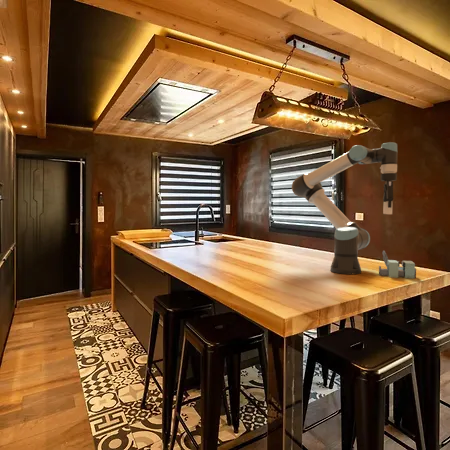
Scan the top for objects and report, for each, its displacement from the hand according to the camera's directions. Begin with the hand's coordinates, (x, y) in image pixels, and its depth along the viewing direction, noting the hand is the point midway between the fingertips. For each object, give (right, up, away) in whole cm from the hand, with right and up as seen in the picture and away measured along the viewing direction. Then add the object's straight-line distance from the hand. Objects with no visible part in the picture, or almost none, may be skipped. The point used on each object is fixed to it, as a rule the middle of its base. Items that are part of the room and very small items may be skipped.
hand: (387, 214), depth 168 cm
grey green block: (-1, -31, -7) cm, 32 cm away
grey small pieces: (+8, -31, +5) cm, 32 cm away
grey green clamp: (+1, -31, -8) cm, 32 cm away
